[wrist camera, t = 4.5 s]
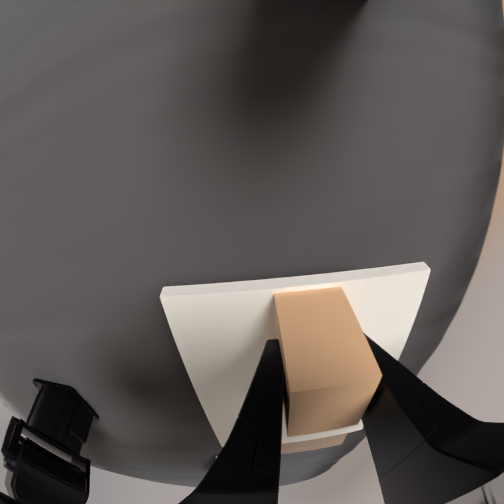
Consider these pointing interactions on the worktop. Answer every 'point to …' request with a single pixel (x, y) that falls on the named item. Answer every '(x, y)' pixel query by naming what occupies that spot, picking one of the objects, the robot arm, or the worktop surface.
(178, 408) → the worktop surface
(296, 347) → the lid
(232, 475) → the robot arm
